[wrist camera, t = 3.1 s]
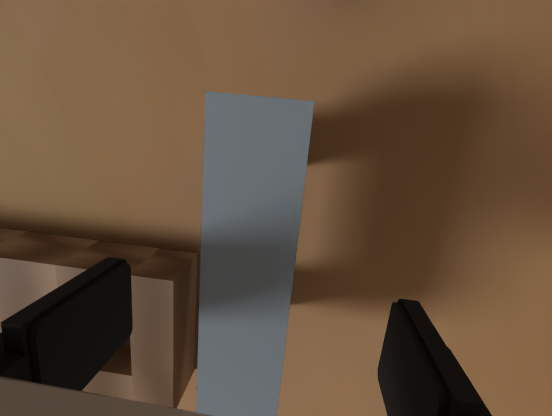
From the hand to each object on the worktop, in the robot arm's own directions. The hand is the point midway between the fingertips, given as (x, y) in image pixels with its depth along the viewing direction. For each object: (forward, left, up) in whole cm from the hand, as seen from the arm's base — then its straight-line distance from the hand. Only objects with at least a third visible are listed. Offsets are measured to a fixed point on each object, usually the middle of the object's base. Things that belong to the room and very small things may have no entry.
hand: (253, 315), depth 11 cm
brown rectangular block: (+8, -16, -10) cm, 20 cm away
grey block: (0, -1, -10) cm, 10 cm away
